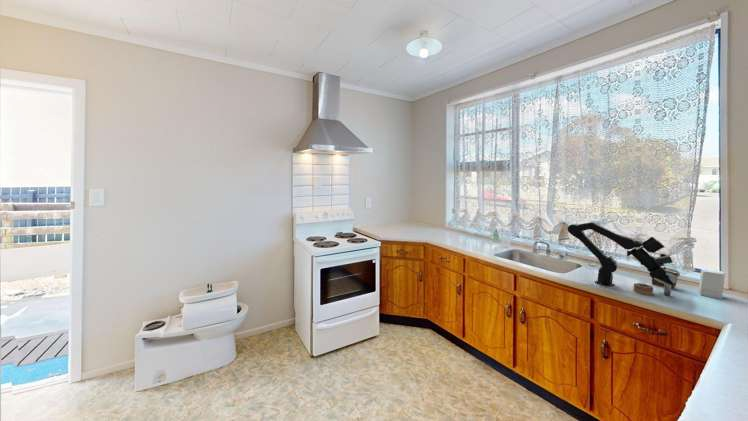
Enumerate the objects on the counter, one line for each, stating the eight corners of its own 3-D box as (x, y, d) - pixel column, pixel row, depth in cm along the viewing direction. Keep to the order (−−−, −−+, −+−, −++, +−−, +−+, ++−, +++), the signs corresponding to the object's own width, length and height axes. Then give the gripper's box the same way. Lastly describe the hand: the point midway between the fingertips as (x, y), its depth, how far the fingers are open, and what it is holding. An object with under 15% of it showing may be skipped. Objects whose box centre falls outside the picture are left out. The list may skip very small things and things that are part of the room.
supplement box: (722, 299, 143) (725, 274, 142) (700, 295, 148) (702, 271, 147) (719, 295, 148) (722, 271, 147) (698, 291, 154) (700, 268, 152)
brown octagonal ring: (644, 294, 148) (645, 288, 148) (630, 289, 155) (630, 283, 154) (655, 294, 149) (656, 287, 149) (641, 289, 156) (641, 282, 156)
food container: (683, 289, 156) (685, 271, 155) (677, 291, 154) (679, 272, 153) (654, 282, 167) (656, 265, 167) (648, 283, 165) (650, 266, 164)
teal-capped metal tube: (667, 296, 146) (669, 275, 145) (662, 294, 148) (664, 273, 147) (671, 296, 146) (673, 275, 145) (666, 294, 149) (668, 273, 148)
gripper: (661, 252, 141) (692, 279, 135) (659, 246, 155) (687, 270, 148) (638, 264, 147) (666, 291, 141) (638, 258, 161) (664, 282, 154)
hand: (672, 283), depth 146 cm, fingers open, 4 cm apart
